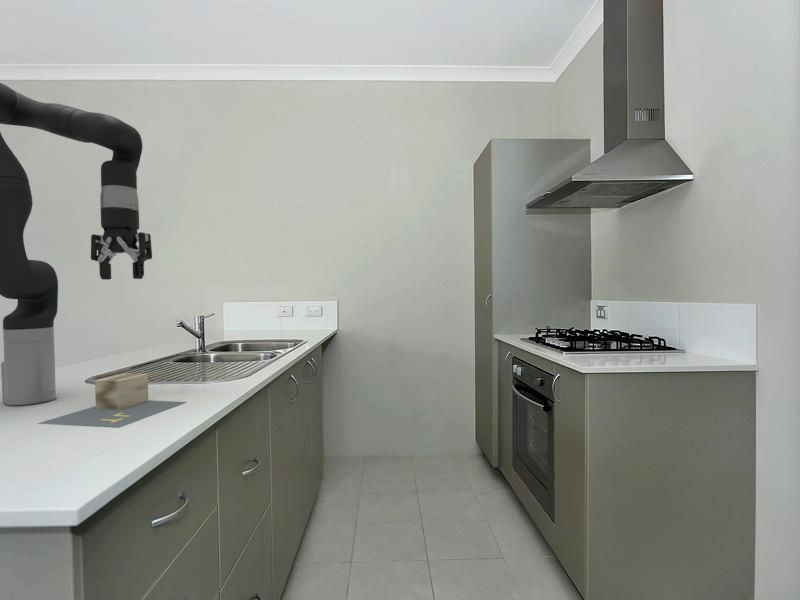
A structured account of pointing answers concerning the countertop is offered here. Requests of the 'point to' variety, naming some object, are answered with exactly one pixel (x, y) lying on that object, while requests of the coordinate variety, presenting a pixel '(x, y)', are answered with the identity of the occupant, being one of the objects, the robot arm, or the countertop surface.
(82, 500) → the countertop surface
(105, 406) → the beech block
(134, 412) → the grey mat
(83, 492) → the countertop surface
